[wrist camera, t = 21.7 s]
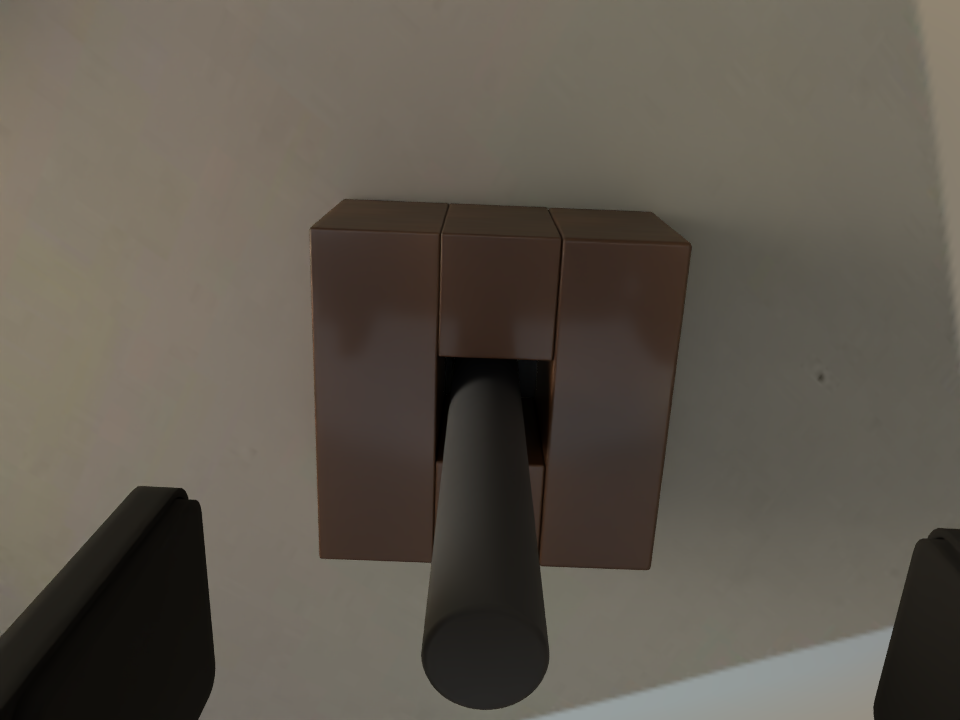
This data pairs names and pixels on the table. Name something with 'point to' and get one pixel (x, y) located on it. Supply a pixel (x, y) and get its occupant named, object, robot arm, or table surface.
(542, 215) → the pen stand
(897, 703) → the robot arm
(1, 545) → the table surface
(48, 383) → the table surface
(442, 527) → the dark grey rod
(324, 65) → the table surface
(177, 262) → the table surface
